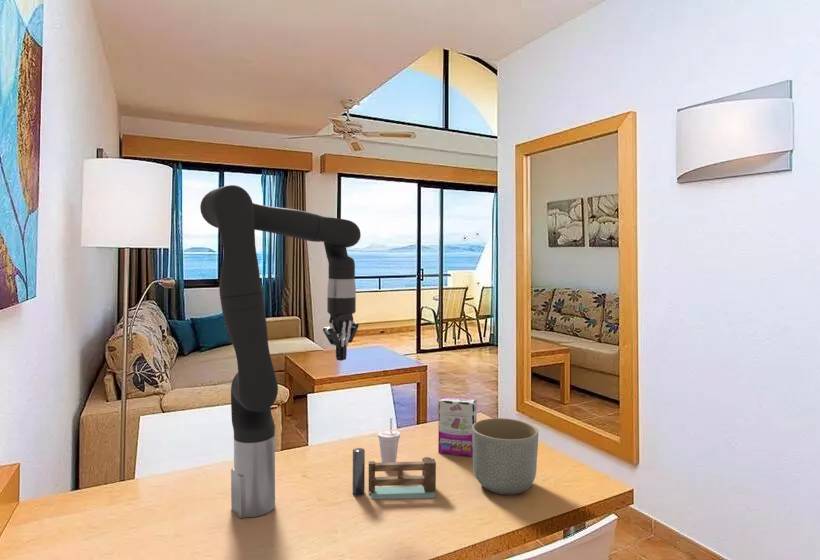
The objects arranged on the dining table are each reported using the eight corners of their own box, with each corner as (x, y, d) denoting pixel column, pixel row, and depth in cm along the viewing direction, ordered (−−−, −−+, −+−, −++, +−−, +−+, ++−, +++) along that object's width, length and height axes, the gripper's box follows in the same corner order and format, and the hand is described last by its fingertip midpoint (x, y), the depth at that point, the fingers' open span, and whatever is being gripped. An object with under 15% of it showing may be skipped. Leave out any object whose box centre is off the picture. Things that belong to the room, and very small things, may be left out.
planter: (534, 506, 121) (535, 443, 120) (465, 495, 126) (465, 435, 125) (539, 477, 137) (540, 421, 136) (478, 468, 142) (479, 415, 141)
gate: (368, 493, 125) (368, 464, 125) (368, 488, 128) (368, 460, 128) (435, 491, 127) (435, 463, 126) (434, 486, 130) (434, 458, 129)
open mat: (370, 499, 124) (370, 498, 124) (371, 487, 130) (371, 487, 130) (435, 497, 124) (435, 497, 124) (432, 486, 130) (432, 486, 130)
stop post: (426, 488, 130) (426, 461, 129) (420, 484, 131) (420, 458, 131) (433, 485, 131) (433, 459, 131) (427, 482, 133) (427, 456, 133)
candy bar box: (476, 451, 155) (477, 399, 154) (474, 457, 150) (474, 403, 149) (441, 447, 158) (441, 395, 157) (437, 453, 153) (438, 400, 152)
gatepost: (356, 497, 124) (356, 453, 124) (350, 492, 127) (350, 449, 126) (366, 493, 126) (367, 450, 126) (360, 489, 129) (360, 447, 128)
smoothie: (399, 471, 140) (399, 422, 139) (376, 471, 140) (376, 421, 139) (400, 462, 146) (400, 414, 145) (378, 462, 146) (378, 414, 145)
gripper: (337, 297, 127) (336, 365, 127) (367, 294, 138) (366, 357, 139) (314, 296, 130) (314, 362, 131) (345, 293, 142) (345, 354, 143)
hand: (341, 359), depth 135 cm, fingers closed
